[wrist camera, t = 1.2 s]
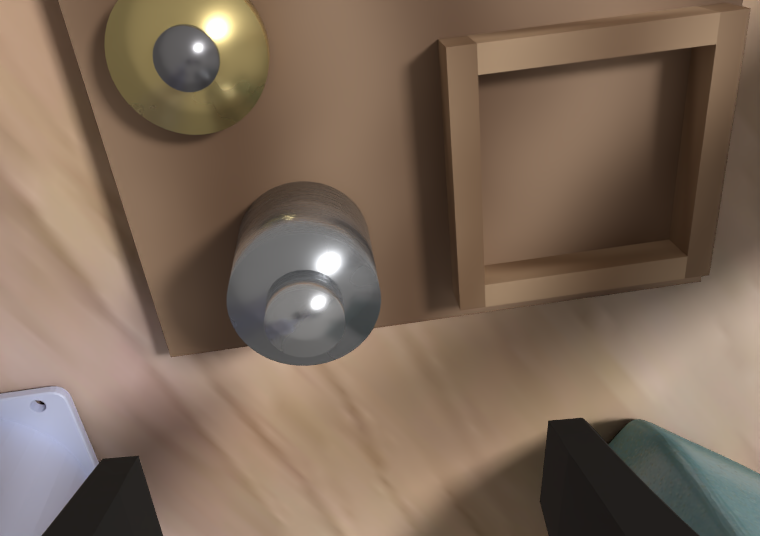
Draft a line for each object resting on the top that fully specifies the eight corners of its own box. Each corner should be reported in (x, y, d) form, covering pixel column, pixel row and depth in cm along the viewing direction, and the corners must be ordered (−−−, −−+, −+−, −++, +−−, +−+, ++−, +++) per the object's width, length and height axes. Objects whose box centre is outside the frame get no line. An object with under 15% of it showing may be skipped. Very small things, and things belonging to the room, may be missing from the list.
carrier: (176, 339, 23) (164, 379, 21) (58, -42, 17) (27, -36, 15) (686, 267, 24) (719, 299, 22) (739, -125, 18) (792, -128, 16)
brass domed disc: (138, 133, 19) (128, 147, 18) (93, -22, 17) (78, -17, 16) (282, 115, 19) (280, 127, 18) (253, -42, 17) (250, -38, 16)
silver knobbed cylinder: (252, 305, 22) (240, 399, 18) (225, 191, 20) (205, 264, 16) (375, 288, 22) (392, 376, 18) (361, 172, 20) (376, 241, 16)
